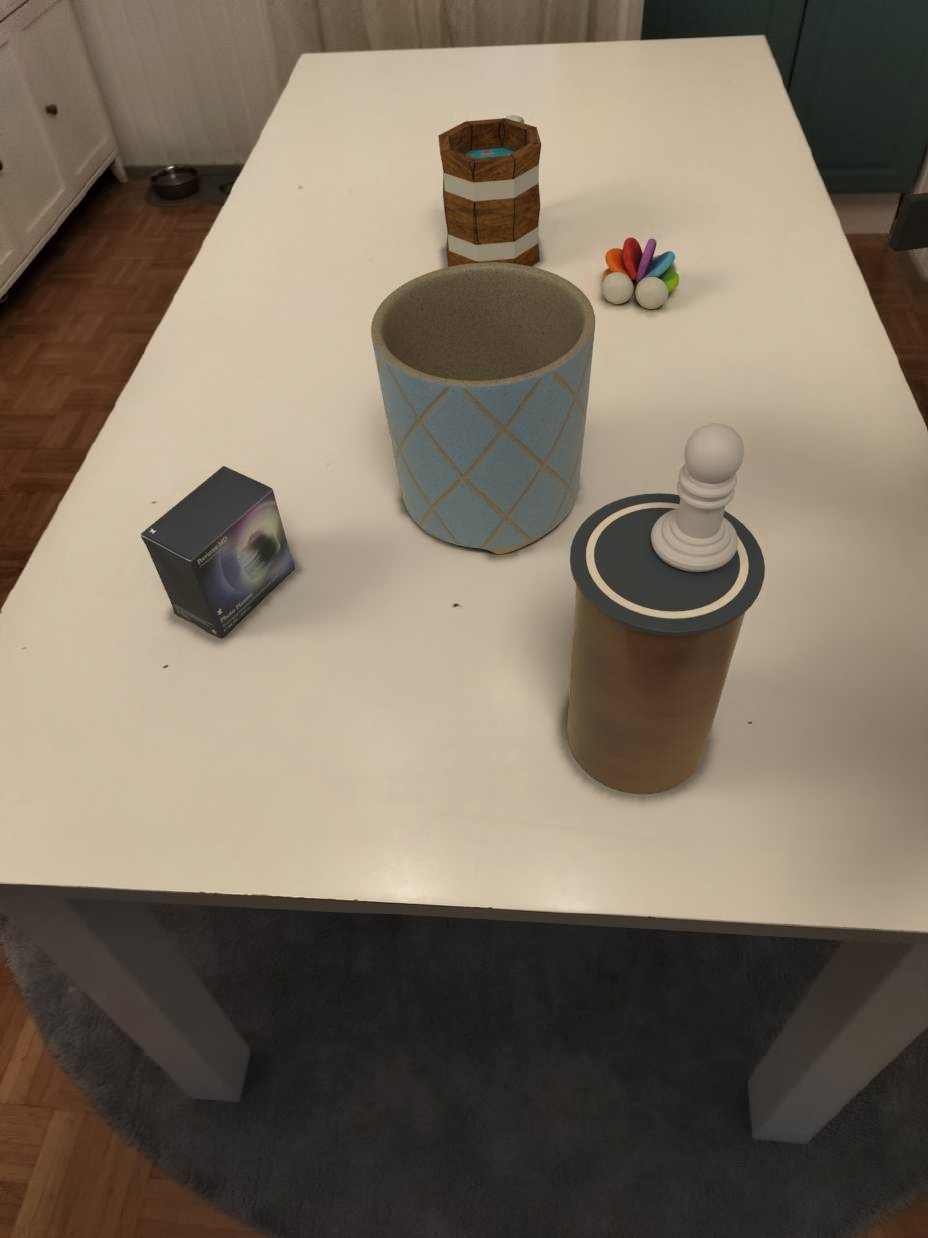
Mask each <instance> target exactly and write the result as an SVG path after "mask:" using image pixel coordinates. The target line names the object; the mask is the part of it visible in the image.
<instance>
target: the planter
mask: <svg viewBox="0 0 928 1238" xmlns="http://www.w3.org/2000/svg"><path fill="white" fill-rule="evenodd" d="M370 326H371V327H370V337H371V342H372V347H373V352H374V358H375V363H376V369H377V374H378V380H379V385H380V390H381V391H380V392H381V397H382V402H383V406H384V411H385V412H384V413H385V417H386V421H387V426H388V431H389V436H390V441H391V446H392V451H393V456H394V461H395V466H396V467H395V468H396V471H397V472H396V473H397V477H398V482H399V487H400V492H401V496H402V500H403V503H404V505H405V509H406V511H407V512H408V514H409V516H410V517H411V518H412V520H413V521H414V522H415V523H416V524H417V525H418V526H419V527H420V528H421V529H422V530H423V531H425V532H426V533H428V534H430V535H431V536H433V537H435V538H437V539H439V540H441V541H444V542H447V543H448V544H449V543H450V544H452V545H457V546H461V547H466V548H472V549H480V550H486V551H489V552H491V553H494V554H496V555H505V554H508V553H512V552H514V551H517V550H520V549H521V548H524V547H526V546H528V545H529V544H533V543H534V542H535V541H537V540H539V539H541V538H542V537H543V536H545V535H547V534H548V533H550V532H551V531H552V530H554V529H555V528H556V527H557V526H559V525H560V524H561V523H562V522H563V520H565V518H566V517H567V516H568V514H569V513H570V512H571V510H572V509H573V506H574V504H575V502H576V498H577V497H578V496H577V495H578V491H579V485H580V477H581V469H582V458H583V448H584V441H585V439H584V438H585V430H586V421H587V411H588V403H589V395H590V383H591V373H592V363H593V353H594V344H595V343H594V342H595V333H596V332H595V331H596V314H595V310H594V307H593V304H592V303H591V301H590V299H589V298H588V296H587V295H586V294H585V293H584V292H583V291H582V290H581V289H580V288H579V287H578V286H576V285H575V284H574V283H573V282H571V281H569V280H568V279H566V278H564V277H562V276H560V275H559V274H556V273H553V272H552V271H548V270H545V269H542V268H539V267H535V266H532V267H531V266H526V265H520V264H512V263H497V262H486V263H471V264H463V265H457V266H451V267H448V266H447V267H443V268H440V269H436V270H433V271H430V272H427V273H424V274H422V275H419V276H417V277H415V278H413V279H411V280H409V281H406V282H405V283H403V284H402V285H400V286H399V287H397V288H396V289H395V290H393V291H392V292H391V293H390V294H388V295H387V296H386V297H385V298H384V299H383V301H381V303H380V304H379V306H378V307H377V309H376V310H375V313H374V315H373V317H372V321H371V325H370Z"/></svg>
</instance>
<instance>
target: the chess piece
mask: <svg viewBox="0 0 928 1238" xmlns="http://www.w3.org/2000/svg"><path fill="white" fill-rule="evenodd" d="M683 455H684V462H685V463H684V464H683V465H682V467H681V468H680V470H679V473H678V481H677V482H676V483H677V484H676V491H677V495H679V497H680V504H679V509H675V510H672V511H669V512H667V513H665V514H664V515H662V516H661V517H660V518H659V519H658V520H657V522H656V523H655V525H654V526H653V529H652V532H651V541H652V545H653V548H654V550H655V552H656V553H657V555H658V556H659V557H660V558H661V559H662V560H663V561H665V562H666V563H668V564H669V565H671V566H673V567H675V568H678V569H681V570H685V571H690V572H706V571H711V570H715V569H718V568H720V567H722V566H724V565H725V564H727V563H728V562H729V561H730V560H731V559H732V557H733V556H734V554H735V553H736V550H737V547H738V538H737V533H736V531H735V529H734V527H733V526H732V524H731V523H730V522H729V521H728V520H727V519H725V518H724V517H723V515H724V510H725V511H726V506H727V505H729V504H730V503H731V501H733V499H734V496H735V491H736V490H735V488H736V487H737V485H738V475H737V472H738V471H739V470H740V469H741V467H742V463H743V460H744V457H745V456H744V455H745V447H744V441H743V439H742V438H741V436H740V434H739V432H738V431H737V430H735V429H734V428H733V427H731V426H729V425H727V424H724V423H715V422H713V423H708V424H704V425H701V426H700V427H698V428H697V429H695V430H694V431H693V432H692V433H691V434H690V436H689V438H688V439H687V441H686V444H685V448H684V454H683Z"/></svg>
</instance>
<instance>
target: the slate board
mask: <svg viewBox="0 0 928 1238" xmlns="http://www.w3.org/2000/svg"><path fill="white" fill-rule="evenodd" d="M679 504H680V497H679V495H678V494H675V493H662V492H655V493H654V492H653V493H642V494H635V495H631V496H627V497H623V498H620V499H617V500H613V501H612V502H609V503H607V504H605V505H604V506H602V507H600V508H599V509H597V510H595V511H594V512H592V514H590V515H589V516H588V517H587V518H586V519H585V520H584V521H583V522H582V523H581V525H579V528H578V529H577V531H576V532H575V535H574V536H573V538H572V542H571V546H570V552H569V565H570V566H569V567H570V572H571V575H572V578H573V581H574V583H575V586H576V585H577V587H578V589H579V590H580V592H581V593H582V595H583V596H584V597H585V598H586V600H587V601H588V602H589V603H590V604H591V605H592V606H593V607H595V608H596V609H597V610H598V611H599V612H601V613H602V614H604V615H605V616H607V617H608V618H610V619H611V620H613V621H615V622H617V623H619V624H621V625H624V626H627V627H629V628H632V629H635V630H638V631H642V632H646V633H651V634H657V635H668V636H684V635H694V634H701V633H704V632H708V631H712V630H715V629H718V628H720V627H723V626H725V625H727V624H729V623H731V622H733V621H734V620H736V619H737V618H739V617H740V616H741V615H743V614H744V613H745V614H746V612H747V611H748V610H749V609H750V608H751V607H752V606H753V604H754V603H755V602H756V601H757V599H758V597H759V595H760V593H761V590H762V588H763V584H764V580H765V575H766V574H765V573H766V565H765V558H764V555H763V552H762V551H763V550H762V548H761V546H760V544H759V542H758V541H757V539H756V538H755V536H754V535H753V533H752V532H751V530H750V529H749V528H748V527H747V526H746V525H745V524H744V523H743V522H741V520H739V519H738V518H737V517H735V516H734V515H732V514H731V513H730V512H729V511H726V509H725V510H724V515H723V517H724V518H725V519H727V520H728V521H729V522H730V523H731V524H732V526H733V527H734V529H735V531H736V533H737V538H738V547H737V550H736V553H735V554H734V556H733V557H732V559H731V560H730V561H729V562H728V563H727V564H725V565H724V566H722V567H720V568H718V569H715V570H711V571H706V572H690V571H685V570H681V569H678V568H675V567H673V566H671V565H669V564H668V563H666V562H665V561H663V560H662V559H661V558H660V557H659V556H658V555H657V553H656V552H655V550H654V548H653V545H652V541H651V532H652V529H653V526H654V525H655V523H656V522H657V520H658V519H659V518H660V517H661V516H662V515H664V514H665V513H667V512H669V511H672V510H675V509H679Z"/></svg>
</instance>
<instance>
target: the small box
mask: <svg viewBox="0 0 928 1238" xmlns="http://www.w3.org/2000/svg"><path fill="white" fill-rule="evenodd" d="M140 538H141V540H142V541H143V543H144V546H145V548H146V549H147V552H148V553H149V557H150V558H151V560H152V563H153V565H154V567H155V570H156V572H157V574H158V576H159V579H160V581H161V584H162V586H163V589H164V591H165V592H166V595H167V597H168V599H169V601H170V604H171V606H172V611H173V613H174V615H177V616H178V617H180V618H183V619H184V620H186V621H188V622H190V623H192V624H194V625H195V626H197V627H198V628H200V629H203V630H204V631H205V632H206V633H208V634H211V635H213V636H215V637H216V638H219V639H223V638H224V637H225V636H226V635H227V634H228V633H229V632H230V631H231V630H232V629H233V628H234V627H235V626H236V625H237V624H238V623H239V622H240V621H242V620H243V619H244V617H246V616H247V615H248V614H249V613H250V612H251V611H252V610H253V609H254V608H255V607H256V606H257V605H258V604H259V603H261V602H262V600H264V598H266V597H267V595H269V594H270V592H272V591H273V590H274V589H275V588H276V587H277V586H278V585H279V584H280V583H281V582H282V581H284V579H285V578H287V577H288V576H289V575H290V573H292V572H293V571H294V570H295V569H296V568H295V563H294V561H293V557H292V554H291V550H290V547H289V543H288V539H287V536H286V532H285V529H284V525H283V522H282V518H281V514H280V510H279V507H278V502H277V500H276V496H275V493H274V489H273V488H272V487H271V486H268V485H267V484H264V483H262V482H260V481H258V480H257V479H254V478H252V477H249V476H247V475H246V474H242V473H240V472H239V471H236V470H234V469H232V468H230V467H227V466H225V465H222V466H221V467H220V468H219V469H217V471H215V472H214V473H213V474H212V475H210V476H209V477H207V479H206V480H205V481H203V482H202V483H201V484H200V485H198V486H197V487H196V488H195V489H193V490H192V491H191V492H190V493H188V494H187V495H186V496H185V497H184V498H182V499H181V500H180V501H179V502H178V503H177V504H175V505H174V506H172V508H171V509H169V510H167V511H166V512H165V513H164V514H163V515H161V516H160V517H159V518H158V519H157V520H156V521H154V522H153V523H152V524H151V525H149V526H148V527H147V528H146V529H145V530H143V531H142V532H141V533H140Z"/></svg>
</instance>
